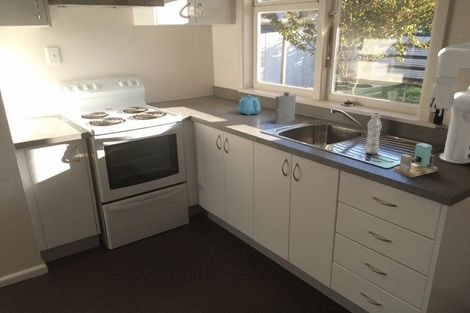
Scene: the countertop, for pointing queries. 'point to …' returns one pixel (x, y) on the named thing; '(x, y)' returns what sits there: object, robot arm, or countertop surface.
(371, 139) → the plastic bottle
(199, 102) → the countertop surface
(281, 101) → the hip flask
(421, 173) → the cord board
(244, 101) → the decorative pot
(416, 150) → the sleeve
